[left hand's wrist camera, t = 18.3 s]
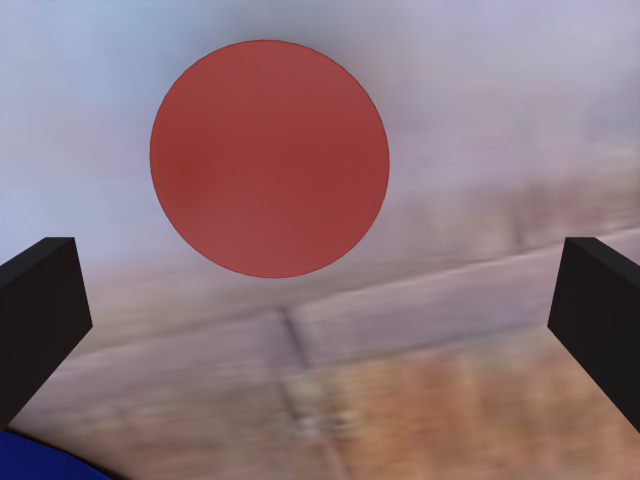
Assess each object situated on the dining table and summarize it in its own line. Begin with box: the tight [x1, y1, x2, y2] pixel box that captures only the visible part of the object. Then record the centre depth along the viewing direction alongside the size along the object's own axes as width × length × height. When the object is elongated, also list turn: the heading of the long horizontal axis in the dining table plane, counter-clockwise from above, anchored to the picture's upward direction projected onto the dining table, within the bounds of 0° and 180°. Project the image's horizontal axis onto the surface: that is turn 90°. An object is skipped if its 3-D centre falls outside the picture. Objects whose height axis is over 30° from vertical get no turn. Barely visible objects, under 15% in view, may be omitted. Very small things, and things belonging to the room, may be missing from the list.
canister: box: [150, 40, 390, 278], centre depth 21 cm, size 9×9×10 cm
